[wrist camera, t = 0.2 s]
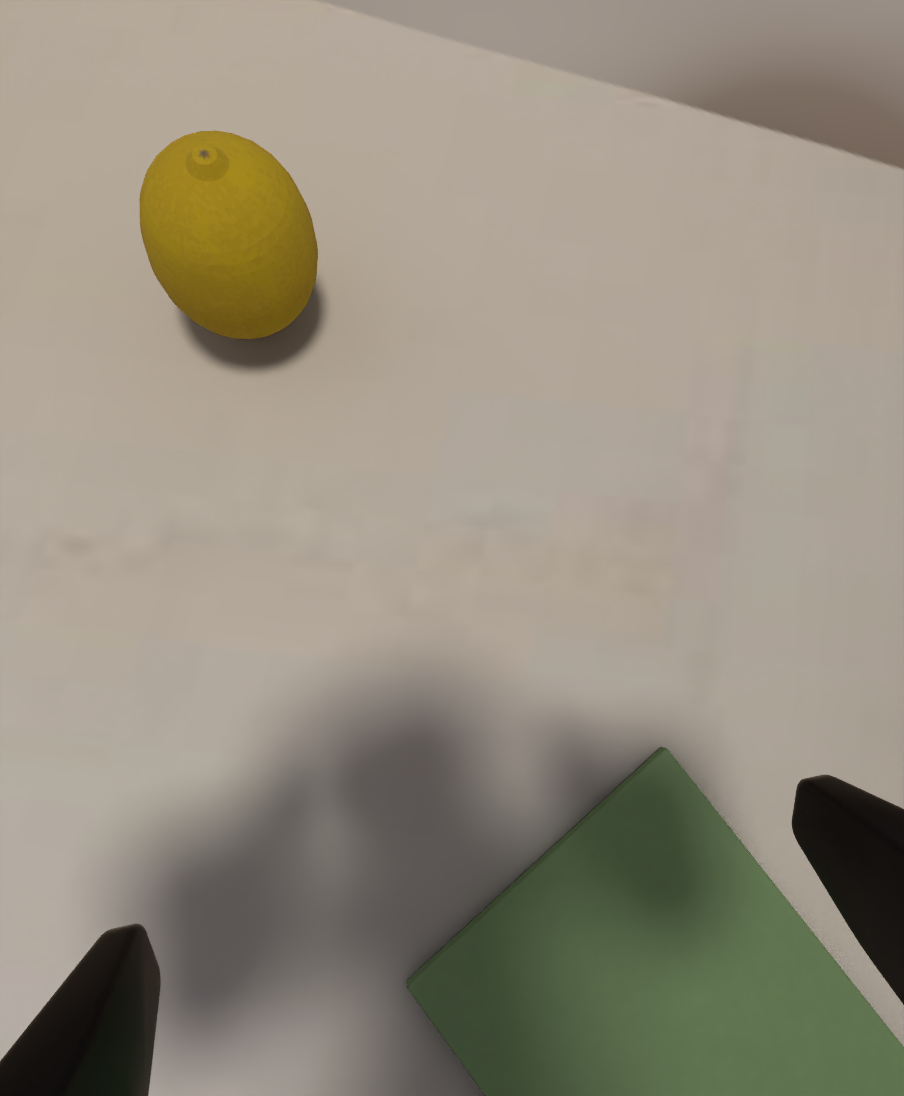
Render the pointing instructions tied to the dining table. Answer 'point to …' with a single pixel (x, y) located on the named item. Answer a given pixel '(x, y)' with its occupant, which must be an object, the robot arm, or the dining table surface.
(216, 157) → the lemon
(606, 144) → the dining table surface
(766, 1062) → the towel
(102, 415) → the dining table surface
